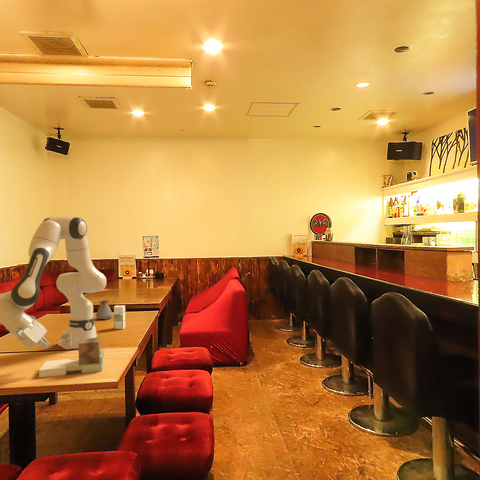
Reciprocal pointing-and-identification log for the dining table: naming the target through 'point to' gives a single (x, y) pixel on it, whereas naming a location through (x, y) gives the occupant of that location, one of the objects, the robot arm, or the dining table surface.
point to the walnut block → (89, 351)
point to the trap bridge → (69, 367)
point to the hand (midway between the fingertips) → (48, 346)
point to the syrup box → (119, 317)
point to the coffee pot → (104, 310)
